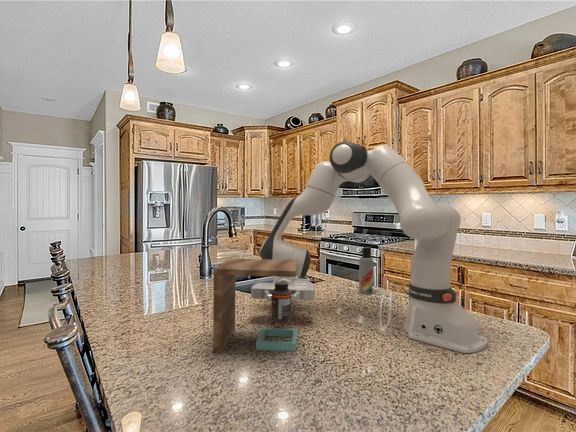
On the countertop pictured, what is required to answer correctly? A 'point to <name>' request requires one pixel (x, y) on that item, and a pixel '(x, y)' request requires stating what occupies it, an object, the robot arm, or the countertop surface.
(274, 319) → the supplement bottle
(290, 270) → the wooden l-shaped bracket
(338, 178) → the robot arm
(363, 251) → the lotion bottle
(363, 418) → the countertop surface
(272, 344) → the socket
